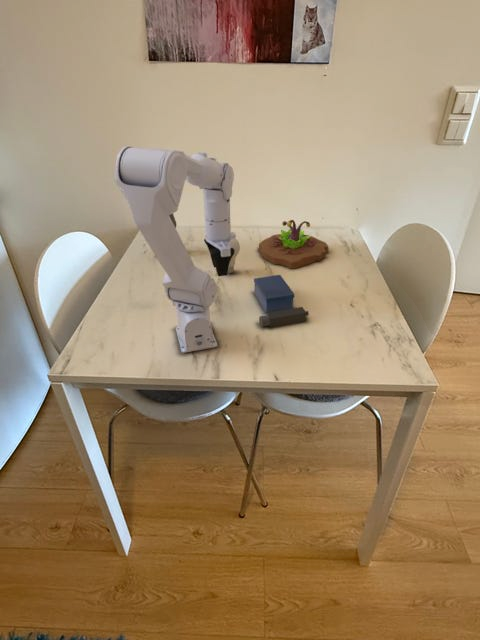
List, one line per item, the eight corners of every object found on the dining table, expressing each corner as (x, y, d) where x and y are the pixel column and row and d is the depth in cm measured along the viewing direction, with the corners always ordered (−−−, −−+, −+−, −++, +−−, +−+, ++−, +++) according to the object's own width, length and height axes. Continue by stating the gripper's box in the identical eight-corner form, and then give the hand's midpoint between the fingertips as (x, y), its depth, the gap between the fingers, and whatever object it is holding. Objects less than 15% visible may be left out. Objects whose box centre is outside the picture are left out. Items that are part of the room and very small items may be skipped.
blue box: (293, 309, 103) (294, 294, 100) (265, 314, 101) (266, 298, 98) (279, 289, 111) (280, 274, 108) (253, 293, 109) (253, 278, 106)
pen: (305, 314, 101) (306, 305, 99) (309, 320, 98) (310, 311, 97) (258, 322, 98) (259, 314, 96) (262, 329, 96) (262, 320, 94)
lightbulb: (244, 272, 119) (244, 236, 112) (229, 279, 115) (228, 243, 109) (229, 265, 122) (228, 230, 116) (214, 272, 118) (212, 237, 112)
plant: (247, 251, 129) (247, 217, 123) (289, 234, 140) (291, 202, 134) (295, 274, 117) (297, 237, 111) (336, 253, 128) (341, 219, 121)
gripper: (243, 227, 87) (243, 282, 95) (227, 204, 99) (228, 255, 107) (211, 231, 86) (214, 287, 94) (198, 207, 97) (202, 259, 105)
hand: (220, 270), depth 100 cm, fingers open, 4 cm apart
